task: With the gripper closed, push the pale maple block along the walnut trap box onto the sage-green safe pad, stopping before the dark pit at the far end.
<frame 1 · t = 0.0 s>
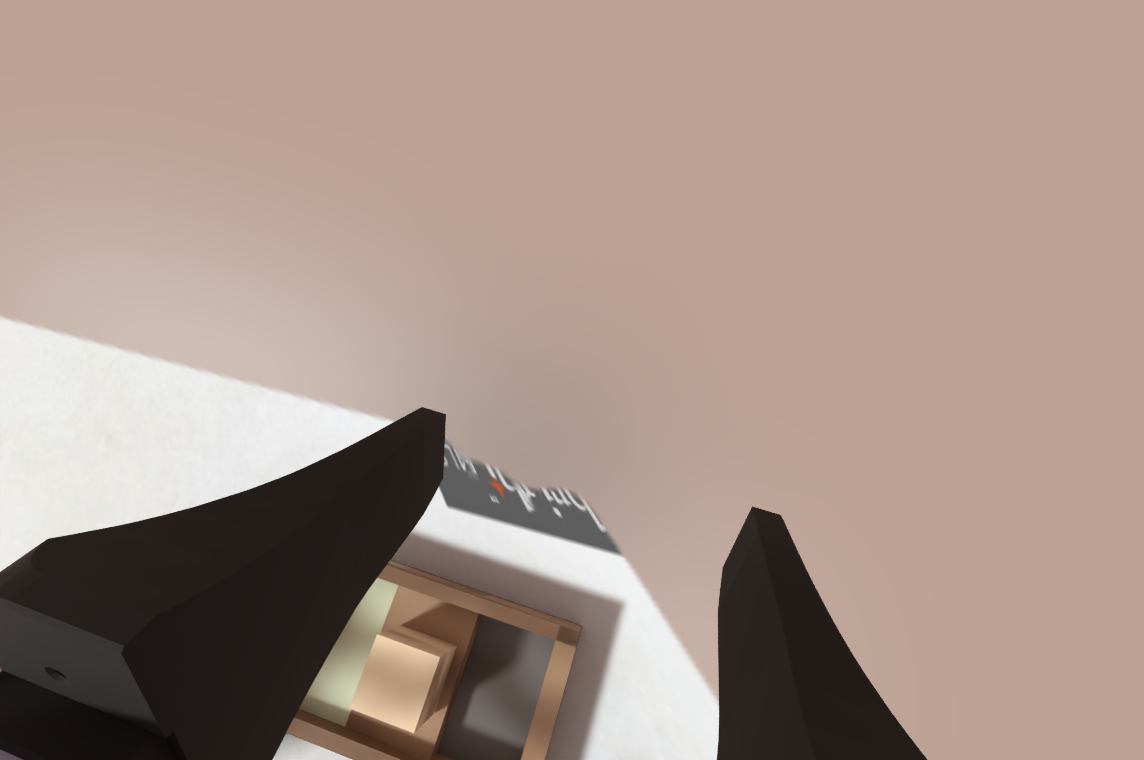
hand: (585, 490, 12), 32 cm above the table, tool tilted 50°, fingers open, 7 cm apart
maple block: (417, 668, 39), point 2 cm above the table, touching trap box
trap box: (395, 651, 41), on the table
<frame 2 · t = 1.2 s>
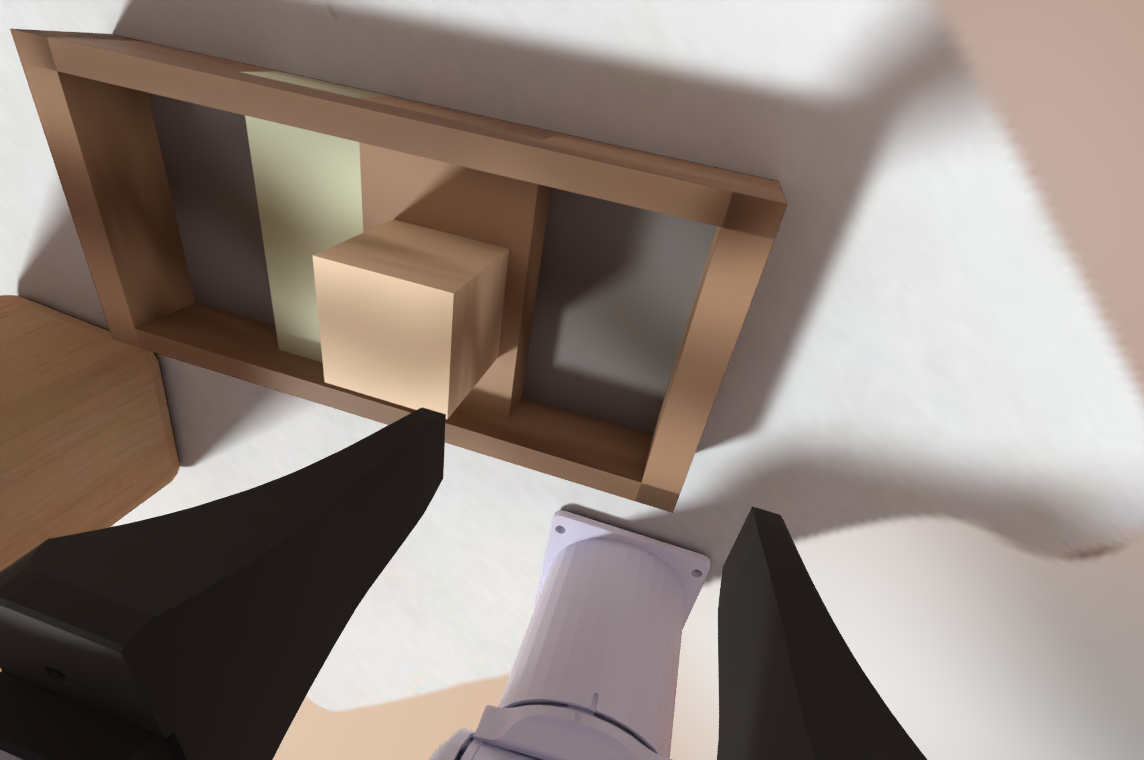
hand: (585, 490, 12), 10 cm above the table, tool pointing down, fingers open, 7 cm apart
maple block: (447, 291, 21), point 2 cm above the table, touching trap box
wooden block: (108, 384, 32), on the table
trap box: (413, 260, 23), on the table
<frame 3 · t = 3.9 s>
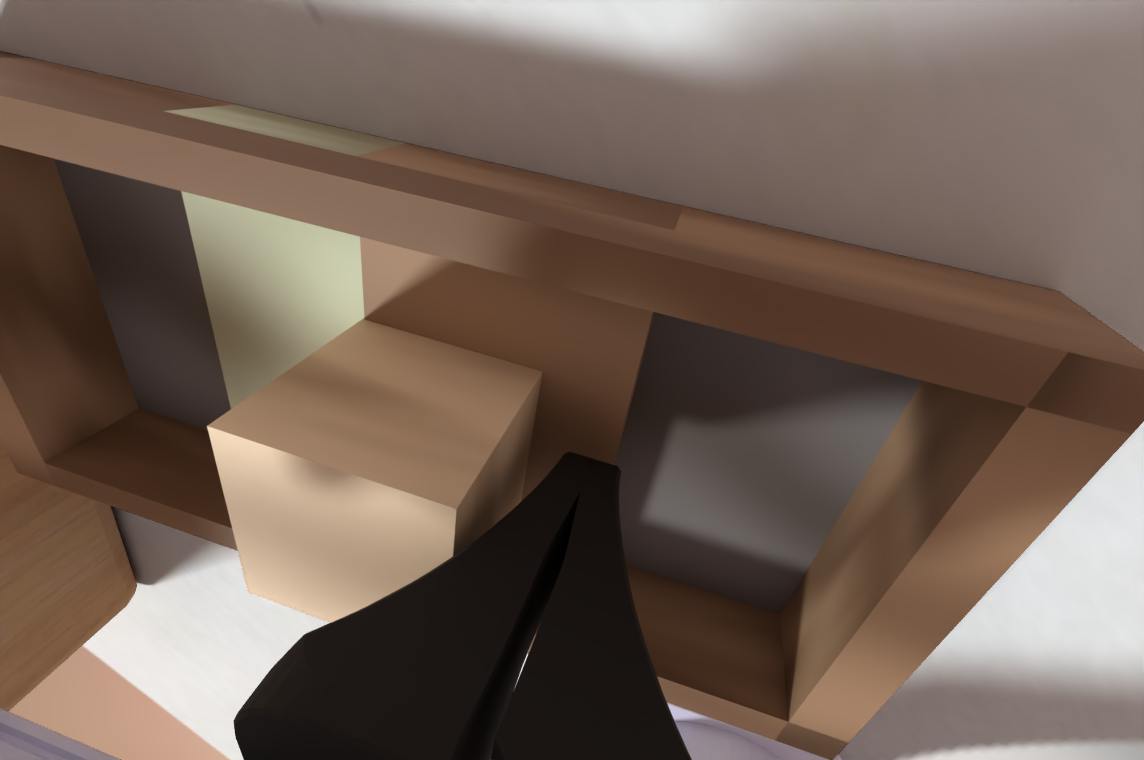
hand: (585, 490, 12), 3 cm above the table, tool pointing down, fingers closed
maple block: (446, 421, 14), point 2 cm above the table, touching gripper
wooden block: (42, 489, 25), on the table
trap box: (439, 372, 16), on the table
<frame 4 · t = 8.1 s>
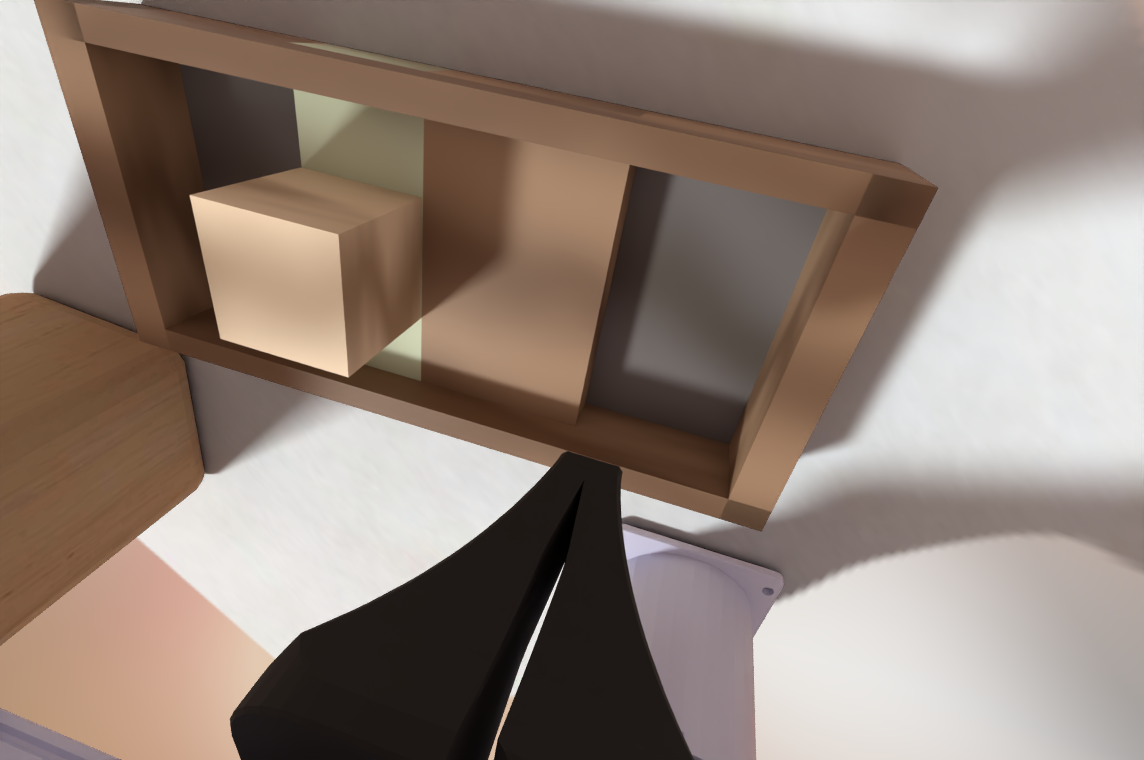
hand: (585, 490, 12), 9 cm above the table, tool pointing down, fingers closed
maple block: (363, 246, 19), point 2 cm above the table, touching trap box
wooden block: (129, 387, 30), on the table
trap box: (471, 253, 21), on the table
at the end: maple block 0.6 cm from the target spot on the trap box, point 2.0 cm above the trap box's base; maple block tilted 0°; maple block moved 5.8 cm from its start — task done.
